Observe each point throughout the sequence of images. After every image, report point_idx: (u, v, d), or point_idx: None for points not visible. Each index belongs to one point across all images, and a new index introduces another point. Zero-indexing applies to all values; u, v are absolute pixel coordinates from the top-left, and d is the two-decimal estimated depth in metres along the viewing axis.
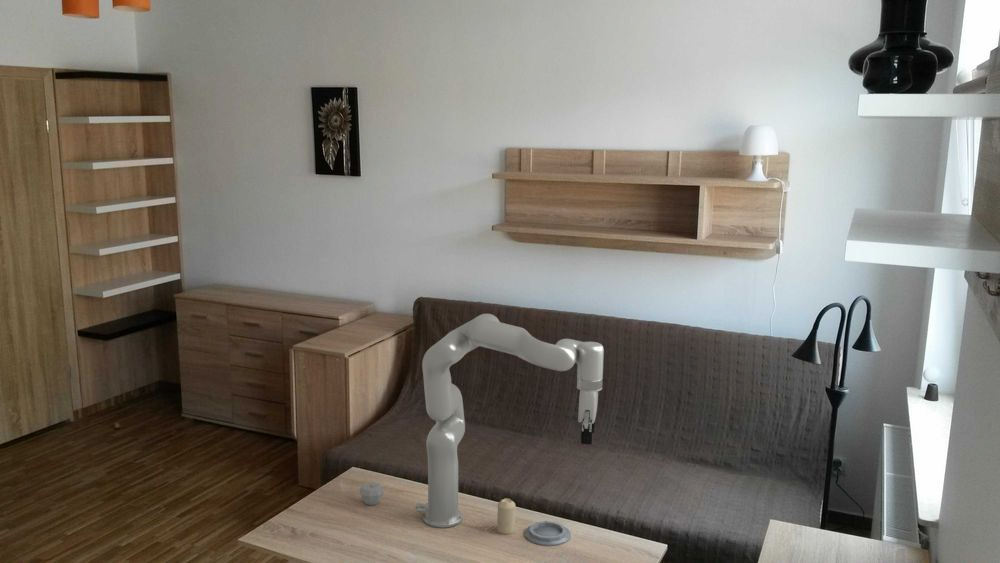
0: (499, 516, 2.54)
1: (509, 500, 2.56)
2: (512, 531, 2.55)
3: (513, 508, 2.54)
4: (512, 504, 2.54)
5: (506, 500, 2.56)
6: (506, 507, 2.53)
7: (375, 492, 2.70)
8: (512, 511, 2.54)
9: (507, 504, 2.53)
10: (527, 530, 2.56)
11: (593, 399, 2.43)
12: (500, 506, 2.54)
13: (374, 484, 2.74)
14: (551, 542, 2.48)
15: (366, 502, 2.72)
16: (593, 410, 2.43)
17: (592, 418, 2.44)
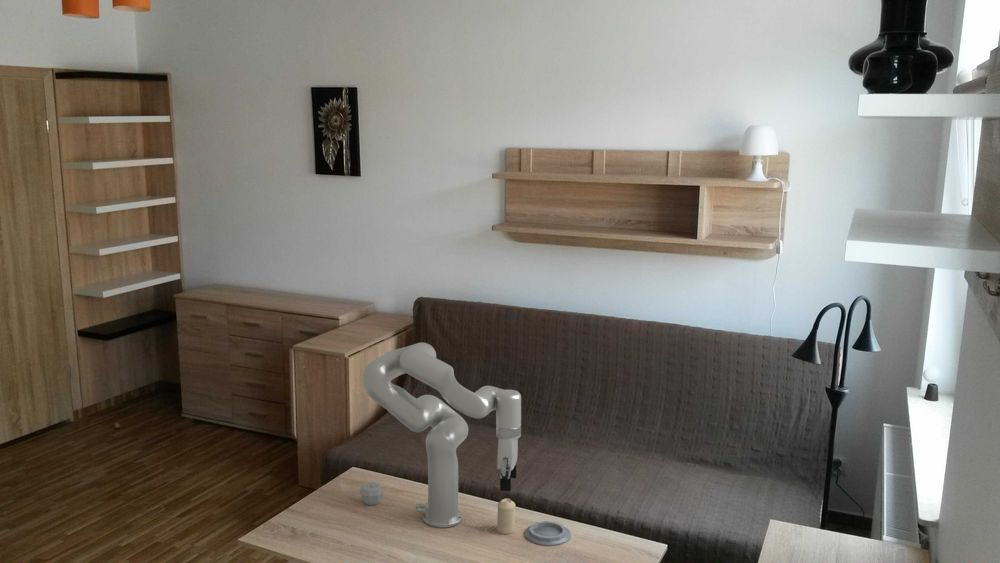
0: (499, 516, 2.54)
1: (509, 500, 2.56)
2: (512, 531, 2.55)
3: (513, 508, 2.54)
4: (512, 504, 2.54)
5: (506, 500, 2.56)
6: (506, 507, 2.53)
7: (375, 492, 2.70)
8: (512, 511, 2.54)
9: (507, 504, 2.53)
10: (527, 530, 2.56)
11: (511, 447, 2.47)
12: (500, 506, 2.54)
13: (374, 484, 2.74)
14: (551, 542, 2.48)
15: (366, 502, 2.72)
16: (511, 457, 2.47)
17: (510, 465, 2.48)
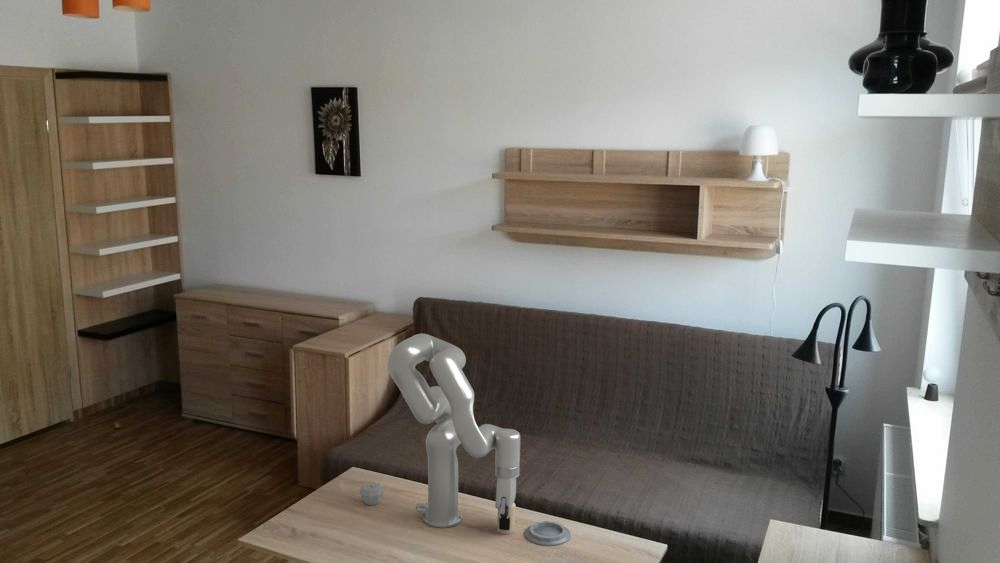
0: (499, 516, 2.54)
1: None
2: (512, 531, 2.55)
3: (513, 508, 2.54)
4: None
5: None
6: (506, 507, 2.53)
7: (375, 492, 2.70)
8: (512, 511, 2.54)
9: None
10: (527, 530, 2.56)
11: (509, 486, 2.49)
12: None
13: (374, 484, 2.74)
14: (551, 542, 2.48)
15: (366, 502, 2.72)
16: (509, 497, 2.50)
17: (509, 507, 2.51)
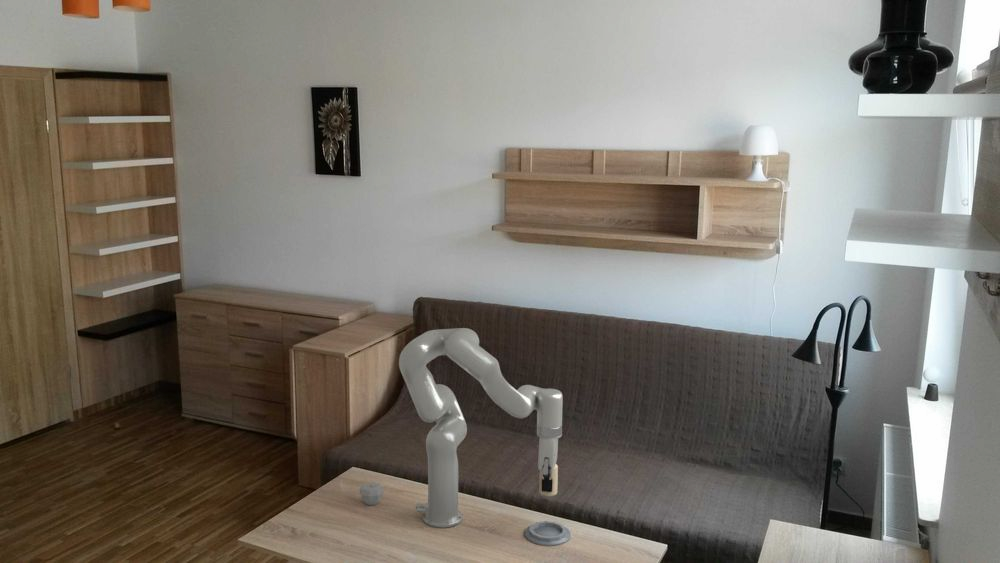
0: (541, 478, 2.50)
1: None
2: (555, 493, 2.50)
3: (556, 469, 2.49)
4: None
5: None
6: (549, 468, 2.48)
7: (375, 492, 2.70)
8: (555, 473, 2.49)
9: None
10: (527, 530, 2.56)
11: (552, 446, 2.45)
12: (542, 467, 2.49)
13: (374, 484, 2.74)
14: (551, 542, 2.48)
15: (366, 502, 2.72)
16: (552, 457, 2.45)
17: None
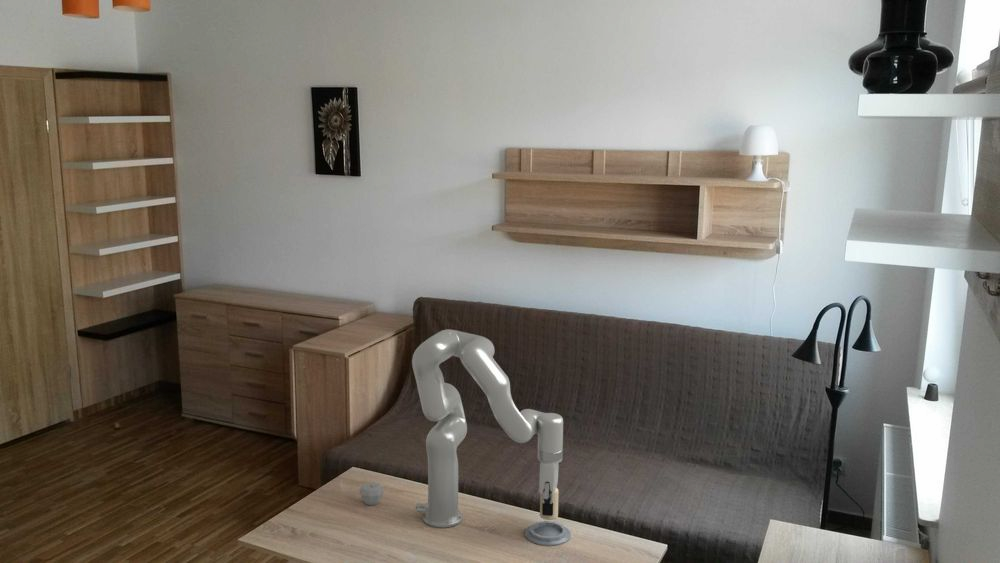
0: (542, 501, 2.51)
1: None
2: (555, 517, 2.51)
3: (556, 493, 2.50)
4: None
5: None
6: (550, 492, 2.49)
7: (375, 492, 2.70)
8: (555, 497, 2.50)
9: None
10: (527, 530, 2.56)
11: (553, 471, 2.46)
12: None
13: (374, 484, 2.74)
14: (551, 542, 2.48)
15: (366, 502, 2.72)
16: (553, 482, 2.46)
17: None
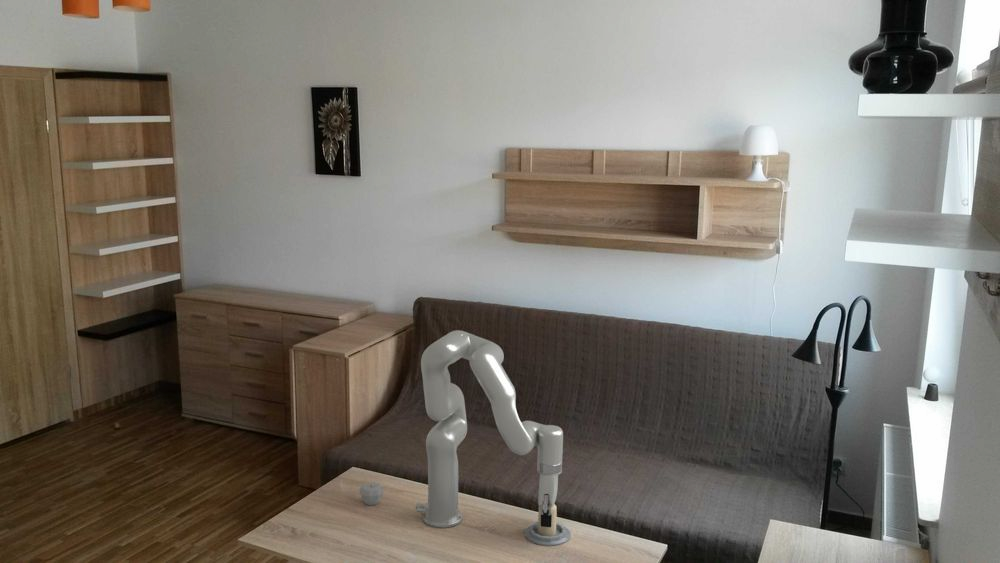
0: (540, 518, 2.52)
1: None
2: (553, 533, 2.52)
3: (554, 510, 2.51)
4: (553, 506, 2.52)
5: None
6: None
7: (375, 492, 2.70)
8: (554, 514, 2.51)
9: None
10: (527, 530, 2.56)
11: (552, 483, 2.47)
12: (541, 508, 2.51)
13: (374, 484, 2.74)
14: (551, 542, 2.48)
15: (366, 502, 2.72)
16: (552, 494, 2.47)
17: (551, 502, 2.47)
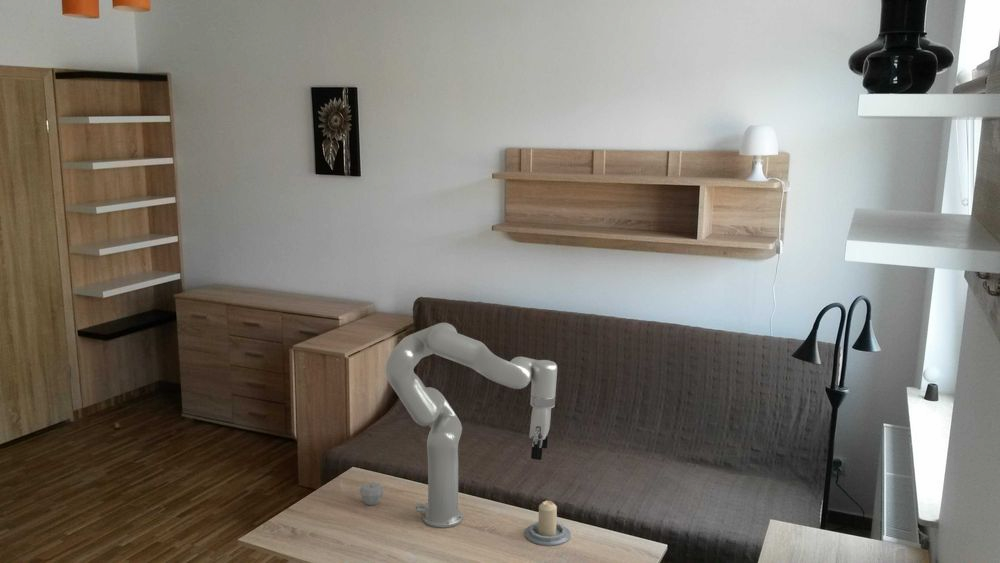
0: (540, 518, 2.52)
1: (550, 502, 2.54)
2: (553, 533, 2.52)
3: (555, 510, 2.51)
4: (553, 506, 2.52)
5: (547, 502, 2.54)
6: (548, 510, 2.50)
7: (375, 491, 2.70)
8: (554, 514, 2.51)
9: (549, 506, 2.51)
10: (527, 530, 2.56)
11: (544, 416, 2.50)
12: (541, 508, 2.51)
13: (374, 484, 2.74)
14: (551, 542, 2.48)
15: (366, 502, 2.72)
16: (544, 427, 2.50)
17: (543, 434, 2.51)
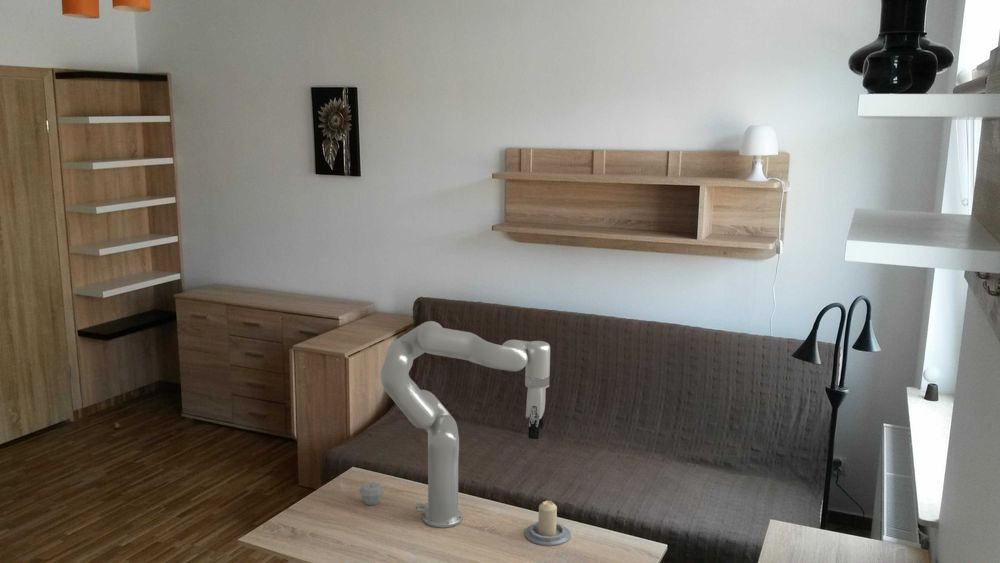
0: (540, 518, 2.52)
1: (550, 502, 2.54)
2: (553, 534, 2.52)
3: (555, 510, 2.51)
4: (554, 506, 2.52)
5: (547, 502, 2.54)
6: (548, 510, 2.50)
7: (375, 492, 2.70)
8: (554, 514, 2.51)
9: (549, 506, 2.51)
10: (527, 530, 2.56)
11: (540, 396, 2.54)
12: (541, 508, 2.51)
13: (374, 484, 2.74)
14: (551, 542, 2.48)
15: (366, 502, 2.72)
16: (540, 406, 2.55)
17: (539, 414, 2.55)
